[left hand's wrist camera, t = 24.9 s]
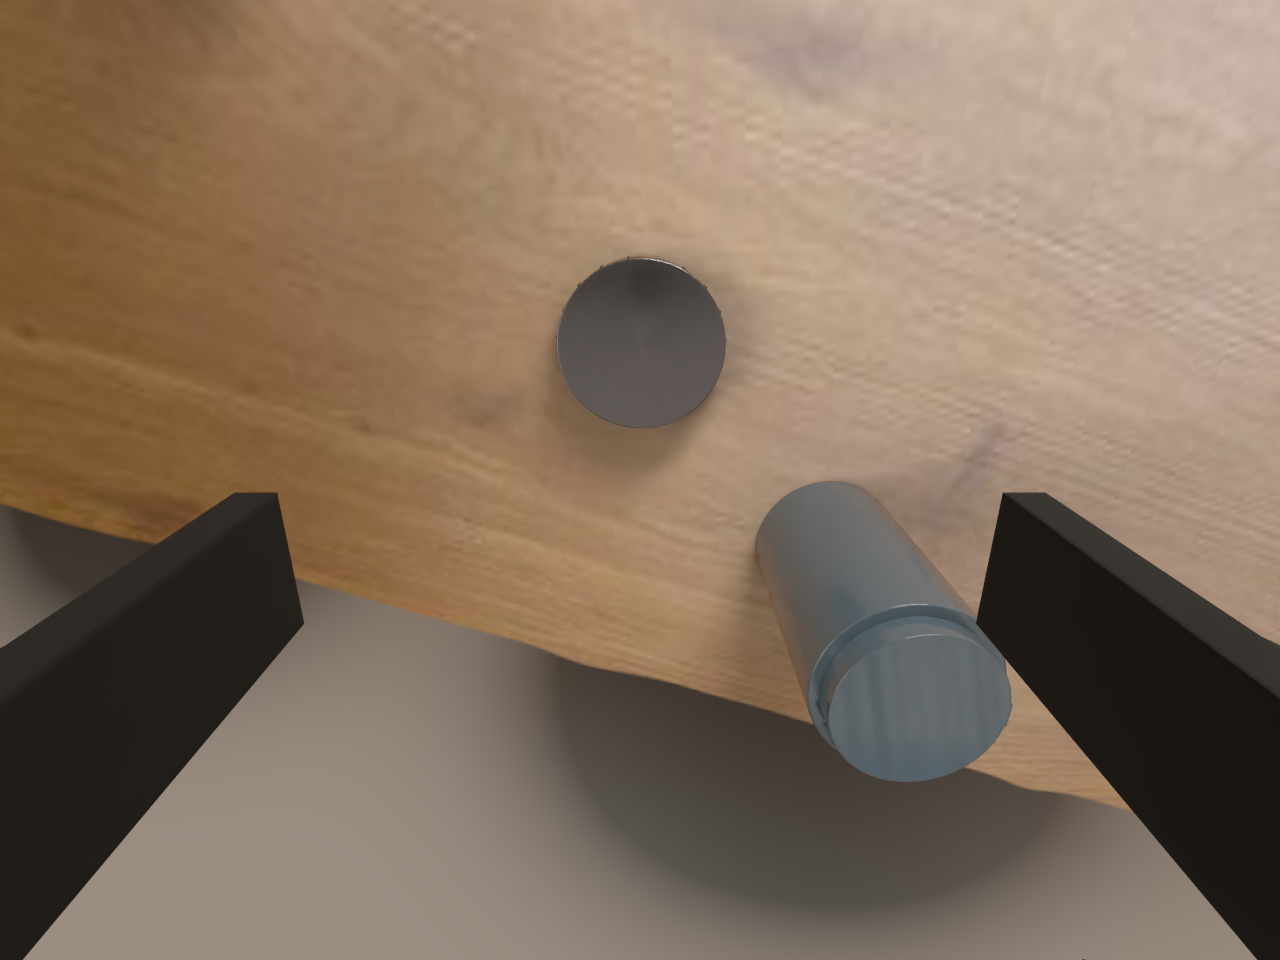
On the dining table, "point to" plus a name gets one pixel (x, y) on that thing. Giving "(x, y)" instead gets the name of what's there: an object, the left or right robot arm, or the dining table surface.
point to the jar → (879, 637)
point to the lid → (641, 342)
